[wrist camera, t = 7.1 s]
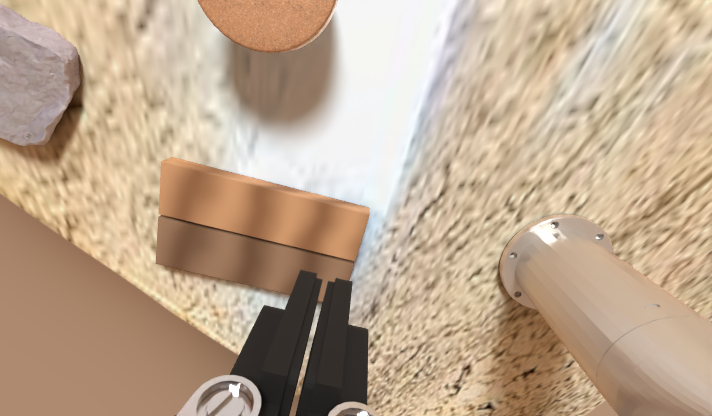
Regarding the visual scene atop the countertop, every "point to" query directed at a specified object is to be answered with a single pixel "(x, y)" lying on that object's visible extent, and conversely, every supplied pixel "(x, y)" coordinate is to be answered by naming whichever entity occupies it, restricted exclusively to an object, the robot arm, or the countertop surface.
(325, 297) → the robot arm
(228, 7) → the lidded jar
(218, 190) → the chestnut plank
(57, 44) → the stone block
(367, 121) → the countertop surface
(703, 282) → the countertop surface
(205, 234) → the walnut board
